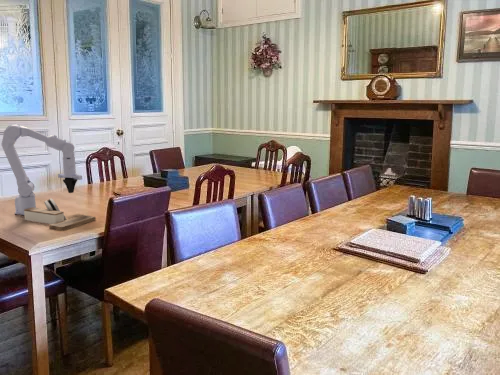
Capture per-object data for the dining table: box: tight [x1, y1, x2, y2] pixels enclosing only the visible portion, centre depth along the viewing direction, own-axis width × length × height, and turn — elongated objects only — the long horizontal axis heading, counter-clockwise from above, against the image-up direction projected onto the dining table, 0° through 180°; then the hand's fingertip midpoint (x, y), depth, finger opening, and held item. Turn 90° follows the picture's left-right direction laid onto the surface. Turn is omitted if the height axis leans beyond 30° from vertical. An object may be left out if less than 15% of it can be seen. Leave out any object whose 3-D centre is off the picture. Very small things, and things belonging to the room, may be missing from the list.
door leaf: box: [48, 214, 96, 231], centre depth 214 cm, size 8×20×2 cm, turn 155°
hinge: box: [43, 198, 67, 220], centre depth 226 cm, size 17×5×10 cm, turn 32°
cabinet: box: [23, 207, 65, 225], centre depth 218 cm, size 20×5×5 cm, turn 65°
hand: (71, 192), depth 237 cm, fingers closed
